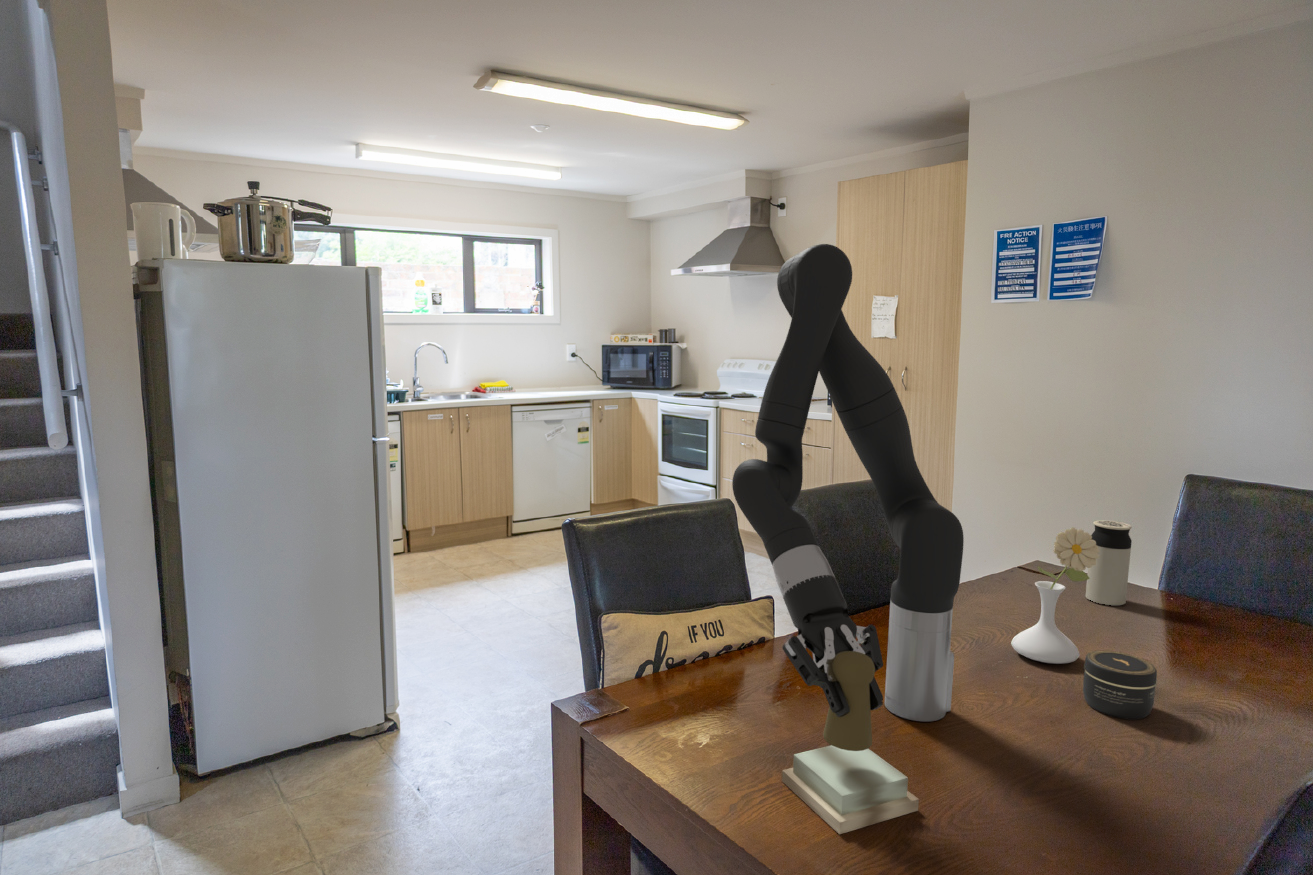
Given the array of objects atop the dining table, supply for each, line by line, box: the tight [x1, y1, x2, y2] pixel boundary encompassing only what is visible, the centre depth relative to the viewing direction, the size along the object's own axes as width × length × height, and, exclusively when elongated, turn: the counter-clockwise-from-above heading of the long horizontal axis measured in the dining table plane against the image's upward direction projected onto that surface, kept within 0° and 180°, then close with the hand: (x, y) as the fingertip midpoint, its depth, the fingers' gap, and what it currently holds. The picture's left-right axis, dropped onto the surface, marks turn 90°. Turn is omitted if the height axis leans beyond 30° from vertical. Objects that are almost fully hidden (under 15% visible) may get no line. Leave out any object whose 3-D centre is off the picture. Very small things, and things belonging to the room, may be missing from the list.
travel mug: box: [1085, 520, 1133, 607], centre depth 175 cm, size 8×8×18 cm
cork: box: [822, 651, 876, 751], centre depth 96 cm, size 6×6×11 cm
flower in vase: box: [1010, 527, 1099, 665], centre depth 142 cm, size 13×11×25 cm
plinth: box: [781, 744, 920, 835], centre depth 98 cm, size 12×12×4 cm
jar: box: [1082, 650, 1158, 720], centre depth 123 cm, size 10×10×8 cm
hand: (860, 710), depth 95 cm, fingers closed on cork, 4 cm apart
